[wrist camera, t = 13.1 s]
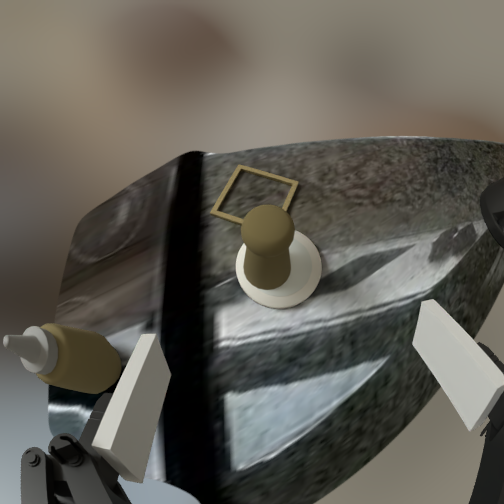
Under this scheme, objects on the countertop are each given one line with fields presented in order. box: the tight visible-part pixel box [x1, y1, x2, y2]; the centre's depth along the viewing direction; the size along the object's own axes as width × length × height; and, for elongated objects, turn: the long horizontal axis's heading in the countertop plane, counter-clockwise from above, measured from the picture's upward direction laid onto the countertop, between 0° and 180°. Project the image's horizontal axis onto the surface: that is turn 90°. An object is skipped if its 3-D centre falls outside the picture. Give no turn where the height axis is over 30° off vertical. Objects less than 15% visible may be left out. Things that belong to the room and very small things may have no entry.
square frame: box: [210, 165, 299, 226], centre depth 42 cm, size 10×10×1 cm
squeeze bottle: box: [3, 324, 121, 394], centre depth 24 cm, size 8×8×18 cm
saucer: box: [236, 231, 322, 309], centre depth 37 cm, size 11×11×1 cm
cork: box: [241, 205, 295, 290], centre depth 31 cm, size 6×6×11 cm
